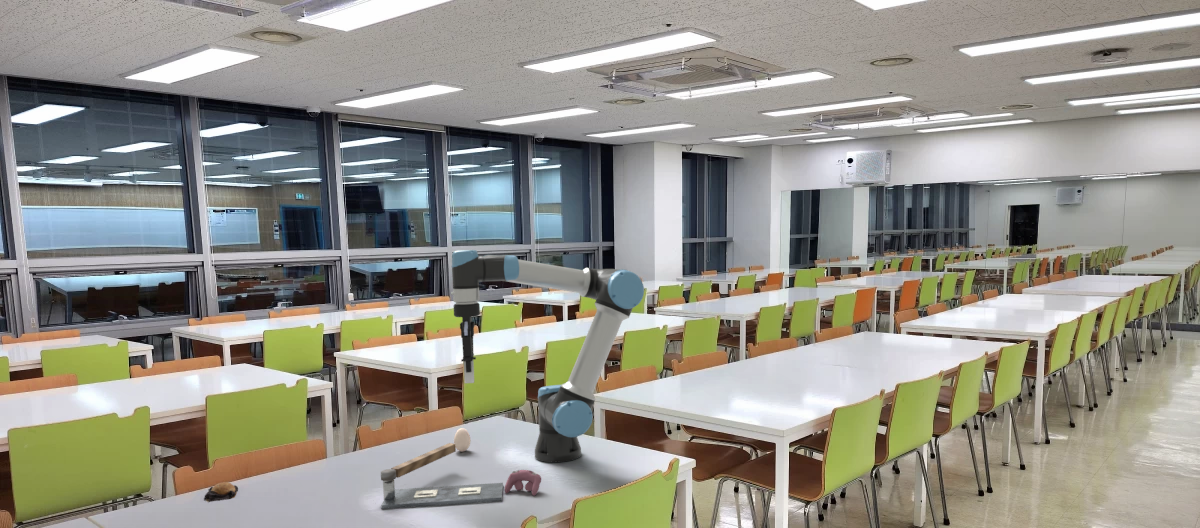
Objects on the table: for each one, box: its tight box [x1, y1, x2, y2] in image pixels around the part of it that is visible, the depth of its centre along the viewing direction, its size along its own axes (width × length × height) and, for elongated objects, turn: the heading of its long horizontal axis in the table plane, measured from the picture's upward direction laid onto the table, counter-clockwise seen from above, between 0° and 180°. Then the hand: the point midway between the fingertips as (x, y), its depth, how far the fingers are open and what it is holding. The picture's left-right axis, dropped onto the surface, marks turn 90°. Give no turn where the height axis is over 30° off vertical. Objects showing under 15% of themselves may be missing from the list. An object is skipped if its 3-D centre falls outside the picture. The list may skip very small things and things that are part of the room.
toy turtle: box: [204, 481, 239, 503], centre depth 210 cm, size 11×8×4 cm
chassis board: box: [380, 479, 504, 510], centre depth 202 cm, size 32×12×6 cm, turn 96°
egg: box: [453, 427, 471, 453], centre depth 246 cm, size 6×6×8 cm
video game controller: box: [504, 469, 542, 497], centre depth 205 cm, size 10×5×7 cm, turn 72°
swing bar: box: [380, 442, 457, 482], centre depth 213 cm, size 30×4×2 cm, turn 154°
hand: (469, 382), depth 214 cm, fingers closed
